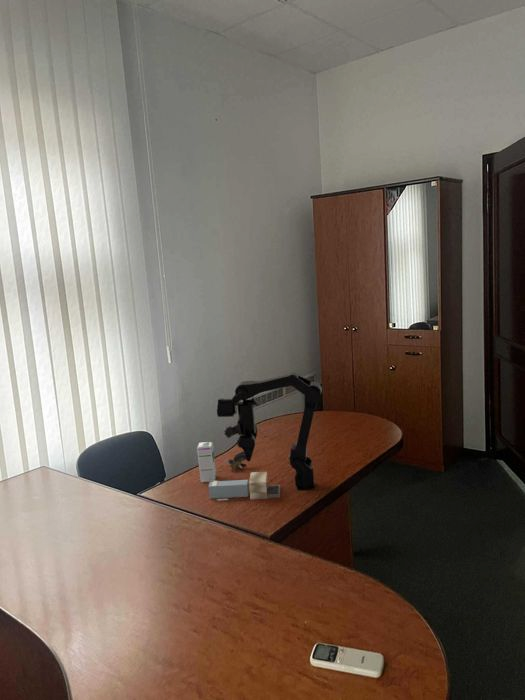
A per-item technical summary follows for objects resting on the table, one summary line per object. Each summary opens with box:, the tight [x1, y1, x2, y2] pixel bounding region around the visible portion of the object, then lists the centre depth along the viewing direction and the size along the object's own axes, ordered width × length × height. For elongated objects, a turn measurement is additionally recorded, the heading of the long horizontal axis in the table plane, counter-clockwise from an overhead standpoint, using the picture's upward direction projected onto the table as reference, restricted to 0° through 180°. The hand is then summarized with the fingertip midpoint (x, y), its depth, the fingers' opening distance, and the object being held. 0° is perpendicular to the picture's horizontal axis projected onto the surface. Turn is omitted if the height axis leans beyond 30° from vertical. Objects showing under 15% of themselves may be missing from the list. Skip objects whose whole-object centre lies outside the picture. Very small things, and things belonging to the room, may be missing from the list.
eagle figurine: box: [225, 451, 247, 472], centre depth 227 cm, size 8×7×9 cm
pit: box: [267, 484, 281, 499], centre depth 200 cm, size 5×9×1 cm, turn 177°
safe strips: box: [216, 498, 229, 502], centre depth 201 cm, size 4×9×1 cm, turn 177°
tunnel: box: [248, 471, 269, 500], centre depth 200 cm, size 6×10×6 cm, turn 177°
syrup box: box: [196, 441, 217, 483], centre depth 216 cm, size 6×6×14 cm
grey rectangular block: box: [208, 479, 250, 499], centre depth 201 cm, size 14×4×5 cm, turn 87°
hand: (249, 456), depth 205 cm, fingers open, 9 cm apart
